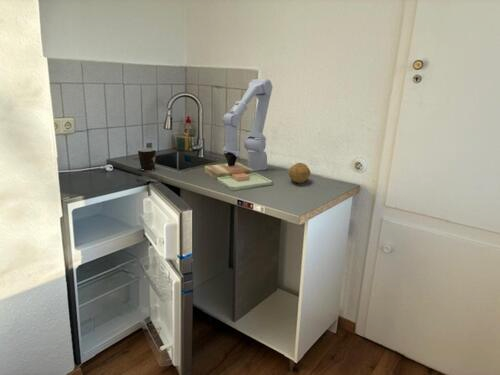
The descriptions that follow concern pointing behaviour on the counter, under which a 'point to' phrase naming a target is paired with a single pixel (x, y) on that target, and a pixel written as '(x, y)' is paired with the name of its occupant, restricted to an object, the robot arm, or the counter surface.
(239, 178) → the tile front
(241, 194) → the counter surface
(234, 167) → the tile rear
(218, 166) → the flat food package
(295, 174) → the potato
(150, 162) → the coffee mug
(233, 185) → the tray
